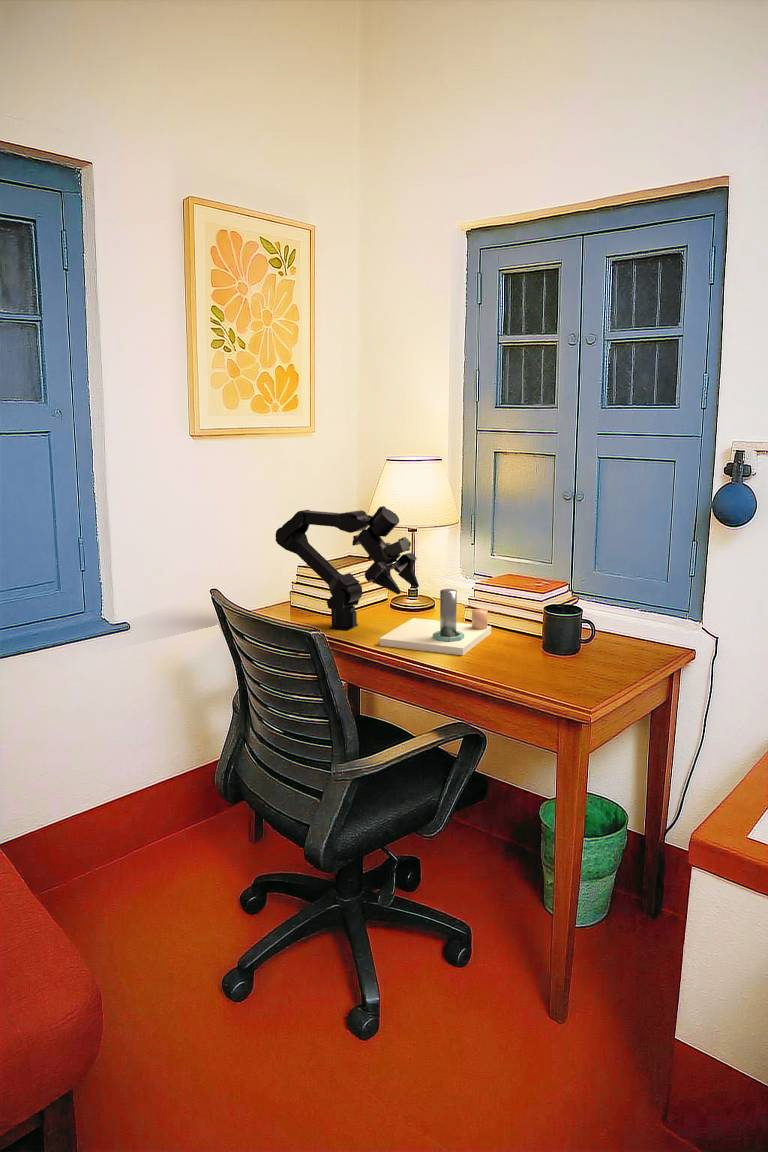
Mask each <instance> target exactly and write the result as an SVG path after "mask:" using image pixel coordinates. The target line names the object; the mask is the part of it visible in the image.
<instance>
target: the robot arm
mask: <svg viewBox="0 0 768 1152" xmlns="http://www.w3.org/2000/svg"><path fill="white" fill-rule="evenodd" d="M399 523H400V518H399V516H398V515H397V514H396V513H395V512H394V511H392V510H390V509H388V508H386V506H384V505H382V506H379V507H378V508H377V510H376V511H375V512H374V514H373V515H370V514H367V513H366V511H364V510H360V509H359V510H354V511H346V512H329V511H320V510H319V511H318V510H317V511H316V510H310V509H303V510H298V511H297V512H296V513H295V514H294V515H293V516H292V517H291V518H290V519H289V520H287V521H286V522H285V523H284V524H283V525H282V526H281V527H279V528H277V530H276V531H275V537H274V538H275V542H276V544H277V545H278V546H280V547H281V548H283V549H284V550H285V551H288V552H290V553H293V554H295V555H297V556H298V557H299V558H300V559H301V560H302V561H303V562H304V563H305V564H306V565H307V566H308V567H309V568H310V569H311V570H312V571H313V572H314V573H315V574H316V575H317V576H318V577H320V578H321V580H323V582H325V583H326V584H327V585H328V589H329V592H330V594H331V596H330V597H329V599H327V601H326V605H327V608H328V609H330V610H331V625H329V626H328V628H329V629H333V630H341V631H342V630H344V631H349V630H352V629H354V628H356V627H357V626H358V623H357V621H358V619H357V615H358V614H357V611H356V606H357V605H359V602H360V599H361V598H362V596H363V586H362V585H361V583H360V580H358V579H356V578H355V576H354V575H353V574H352V573H349V572H348V573H345V574H342V573H341V572H339V570H338V569H337V568H335V567H334V566H333V565H332V563H330V562H329V561H328V560H327V559H326V558H325V557H324V556H322V554H321V553H320V552H318V550H317V549H316V548H314V547H313V546H312V545H311V544H310V543H309V539H308V535H307V534H306V533H307V532H308V530H309V527H310V525H313V526H324V527H334V528H337V529H338V530H340V531H343V532H345V533H349V534H350V533H351V534H352V533H356V532H359V534H357V535H353V536H352V542H351V544H352V546H353V547H355V546H358V545H360V546H361V547H362V548H363V549H364V550H365V552H366V554H368V556H367V557H366V558H367V560H368V561H372V562H373V563H372V564H371V565H370V566H369V567H368V568H367V569H366V570H365V572H364V578H365V580H366V581H367V582H368V583H372V584H374V585H378V586H380V587H382V588H385V589H387V590H389V591H390V592H392V593H395V594H397V595H400V594H401V593H402V592H401V590H400V587H399V585H398V584H397V583H396V581H395V580H394V578H393V576H392V575H391V570H394V571H395V572H396V573H398V574H397V575H398V577H400V578H401V579H403V580H404V581H405V582H407V583H408V584H410V586H412V587H413V588H415V589H418V588H419V586H420V585H419V581H418V579H417V576H416V573H415V570H414V569H415V567H414V566H415V564H416V560H418V559H417V557H416V556H415V554H414V553H413V552H409V551H411V548H410V547H411V546H412V545H411V544H412V542H411V541H410V540H409V539H408V538H407V537H406V536H404V537H401V538H399V539H397V541H396V542H393V543H390V542H385V541H384V539H383V538H382V537H384V538H385V537H387V536H388V535H390V533H391V532H392V531H393V530H394V529H395V527H397V525H398V524H399ZM404 552H408V553H404ZM402 553H404V554H402ZM401 554H402V555H401Z"/></svg>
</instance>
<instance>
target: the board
mask: <svg viewBox="0 0 768 1152" xmlns="http://www.w3.org/2000/svg"><path fill="white" fill-rule="evenodd" d="M491 634H492V626H491V625H487V629H485V630H475V629H472V623H465V622H464V623H463V622H456V637H442V636H440V620H436V619H425V618H415V617H413V618H410V619H409V620H408V621H406V622H404V623H402V624H401V625H399V626H397V627H396V628H394V629H392V630H390V631H389V632H388V633H386V634H384V635H383V636H381V637H379V638H378V640H379V641H378V642H379V643H378V646H382V647H387V648H388V647H390V648H397V649H398V648H399V649H404V650H405V649H407V650H413V651H423V652H430V653H439V654H447V655H456V656H464V655H466V654H467V653H468V652H469V651H470V650H472V649H473V648H474V647H476V646H477V645H478V644H480V642H482V641H484V640H485V639H486V638H487V637H488V636H489V635H491Z"/></svg>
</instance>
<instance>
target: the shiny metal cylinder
mask: <svg viewBox="0 0 768 1152" xmlns="http://www.w3.org/2000/svg"><path fill="white" fill-rule="evenodd" d="M457 591H458V590H457V589H453V588H444V589H440V590H439V603H440V604H439V615H440V616H439V621H440V636H442V637H456V623H457V617H458V616H457V612H458V611H457V610H458V609H457V604H458V602H457V601H458V597H457V595H458V594H457V593H458V592H457Z"/></svg>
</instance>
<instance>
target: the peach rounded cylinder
mask: <svg viewBox="0 0 768 1152" xmlns="http://www.w3.org/2000/svg"><path fill="white" fill-rule="evenodd" d="M488 612H489V611H488V610H487V609H485V608H473V609H472V610H471V624H472V629H475V630H485V629H487V626H488V624H489V623H488V620H489V619H488V617H489V615H488V614H489V613H488Z"/></svg>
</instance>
